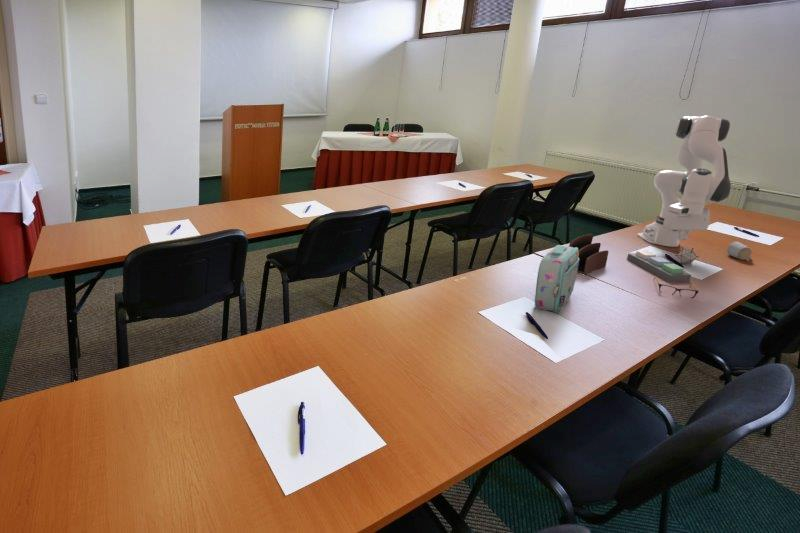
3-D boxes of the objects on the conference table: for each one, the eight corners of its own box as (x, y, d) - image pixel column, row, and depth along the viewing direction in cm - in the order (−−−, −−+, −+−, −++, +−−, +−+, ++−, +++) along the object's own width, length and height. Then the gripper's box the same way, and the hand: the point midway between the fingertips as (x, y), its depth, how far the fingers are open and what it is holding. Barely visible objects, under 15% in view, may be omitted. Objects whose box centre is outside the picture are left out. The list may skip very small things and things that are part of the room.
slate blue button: (647, 263, 216) (649, 257, 215) (658, 262, 217) (660, 256, 216) (656, 267, 211) (658, 261, 210) (668, 267, 212) (669, 261, 211)
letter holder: (563, 268, 209) (569, 238, 204) (585, 260, 221) (592, 231, 216) (584, 275, 202) (590, 244, 197) (605, 266, 214) (613, 237, 209)
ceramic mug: (737, 260, 235) (742, 246, 233) (724, 254, 243) (729, 241, 240) (755, 261, 237) (760, 246, 234) (742, 255, 245) (747, 241, 242)
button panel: (626, 258, 226) (628, 253, 225) (645, 258, 229) (647, 252, 227) (669, 281, 201) (671, 275, 200) (689, 281, 203) (691, 274, 202)
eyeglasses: (656, 293, 189) (659, 284, 188) (652, 281, 202) (655, 272, 200) (696, 300, 185) (699, 291, 183) (689, 287, 197) (692, 279, 196)
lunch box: (558, 320, 160) (571, 262, 152) (529, 312, 164) (539, 255, 156) (573, 294, 181) (585, 242, 174) (547, 287, 186) (557, 236, 178)
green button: (660, 270, 208) (662, 263, 207) (672, 269, 210) (674, 263, 209) (670, 275, 203) (672, 268, 202) (682, 274, 204) (684, 268, 203)
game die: (683, 270, 228) (696, 253, 227) (692, 270, 219) (706, 253, 219) (668, 259, 228) (681, 242, 228) (677, 258, 220) (690, 241, 219)
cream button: (635, 256, 224) (636, 250, 223) (645, 256, 225) (647, 250, 224) (643, 261, 218) (645, 255, 217) (654, 260, 220) (656, 255, 219)
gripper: (705, 206, 201) (695, 237, 206) (665, 205, 196) (656, 237, 201) (717, 210, 195) (707, 241, 200) (676, 209, 190) (667, 241, 195)
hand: (681, 239), depth 200 cm, fingers closed
